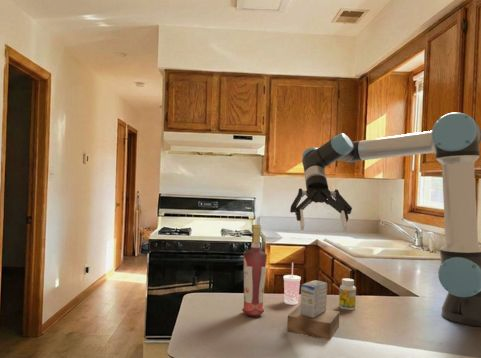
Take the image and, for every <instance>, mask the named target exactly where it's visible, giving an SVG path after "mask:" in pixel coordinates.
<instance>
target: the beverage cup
mask: <svg viewBox="0 0 481 358" xmlns="http://www.w3.org/2000/svg"><path fill="white" fill-rule="evenodd" d="M301 277H302V276H299V275H295V274H294V262H291V274H285V275H283V288H284V289H283V290H284V291H283V292H284V293H283V294H284V296H283V297H284V303H285V304H287V305H294V306H295V305H298V304H299V294H300V285H301V284H300V283H301V280H302V278H301Z"/></svg>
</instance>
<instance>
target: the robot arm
mask: <svg viewBox="0 0 481 358" xmlns="http://www.w3.org/2000/svg"><path fill="white" fill-rule="evenodd" d="M480 144H481V128H480V126H479V124H478V123H477V122H476V120H475V119H474V118H473V117H471V115H468V114H466V113H462V112H450V113H446V114H444V115H443V116H440V117H439V119H437V120H436V122H435V123H434V125H433V127H432V130H430V131H429V130H428V131H423V132H422V131H421V132H413V133H406V134H401V135H400V134H399V135H392V136H386V137H377V138H373V139H372V138H371V139H364V140H363V139H362V140H356V141H352V140H351V139H350V137H349V136H348V135H346V134H345V133H343V132H342V133H339V134H337V135H335V136H333V137H332V138H331V139H329V140H328V141H326V142H325V143H323V144H322V145H321V146H320V147H315V146H313V147H308V148H306V149H304V151H303V153H302V155H301V157H302V158H301V159H302V160H301V162H302V166H303V173H304V181H305V187H306V190H303V188H298V193H297V195H296V196H295V199H294V200H293V202H292V204H291V206H290V210H289V212H290V213H291V214H293V213H295V216H296V221H298V222H299V225H300V231H304V229H305V220H304V219H305V217H304V210H305V209H306V207H308V206H309V205H311V204H312V203H313V202H314V203H316V204H317V203H320V204H322V203H323V204H324V203H325V204H326V205H329V206H330V207H331V208H333V209H334V210H335V211H336V212H338V213H339V214H340V216H339V218H340V222H341V227H342V231H343V232H346V231H347V228H348V221H349V215H351V213H352V210H353V207H352V206H351V205H350V204H349V202H348V201H347V200H345V197H343V195H341V193H340V191H339V189H337V188H336V189H334V191H333V190H330V189H329V185H328V184H329V183H328V180H327V173H326V170H325V169H326V168H327V167H329V166H331V165H332V164H333V163H335V162H336V161H341V162H345V163H347V164H349V163H350V164H351V163H357V162H360V161H368V160H375V159H376V160H378V159H388V158H396V157H408V156H415V155H424V154H435V159H436V161H437V162H439V164H441V175H442V191H443V192H442V193H443V196H442V197H443V198H442V199H443V214H444V215H443V216H444V221H443V222H444V235H445V236H444V239H445V243H444V244H443V245H442V246H441V247H440V248H439V249H440V253H439V254H440V265H439V268H438V272H437V273H438V281H439V283H440V285H441V286H442V288H443V289H444V290H446V291H447V295H446V297H445V299H444V302H443V304H442V307H441V315H442V317H443V318H445V319H446V320H449V321H452V322H453V323H454V322H455V323H458V324H462V325H466V326H468V325H469V326H474V327H481V246H480V244H479V240H478V239H479V238H478V237H479V236H478V235H479V233H478V219H477V218H478V217H477V198H476V197H477V196H476V194H477V193H476V180H475V179H476V177H475V162H476V161H477V160H479V158H480ZM304 196H306V198H305V199H304V200H302V202H300V201H301V199H302V198H304ZM299 203H300V204H299Z"/></svg>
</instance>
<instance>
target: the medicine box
mask: <svg viewBox="0 0 481 358" xmlns="http://www.w3.org/2000/svg"><path fill="white" fill-rule="evenodd" d="M300 285H301V287H300V289H301V290H300V293H301V294H300V305H301V306H300V314H301V315H304V316H307V317H311V318H314V317H316V316H318V315H320V314H321V313H323V312H325V311H326V309H327V297H328V295H327V294H328V283H327V282H326V281H325V282H324V281H321V280H316V279H315V280H311V281H307V282H305V283H302V284H300Z"/></svg>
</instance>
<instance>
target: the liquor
mask: <svg viewBox="0 0 481 358" xmlns="http://www.w3.org/2000/svg"><path fill="white" fill-rule="evenodd" d="M251 227H252V228H251V232H252V237H251V246H250V249H248V250H247V251H245V252H244V253H243V308H241V310H242V312H243V313H244V314H245V315H246V316H247V317H252V318H259V317H260V316H261V315H262V314H263V313H264V312H265V310H264V294H265V283H266V282H265V281H266V271H267V260H268V259H267V257H268V254H266V252H265V251H264V250H261V237H260V234H261V225H260V224H252V225H251Z"/></svg>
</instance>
